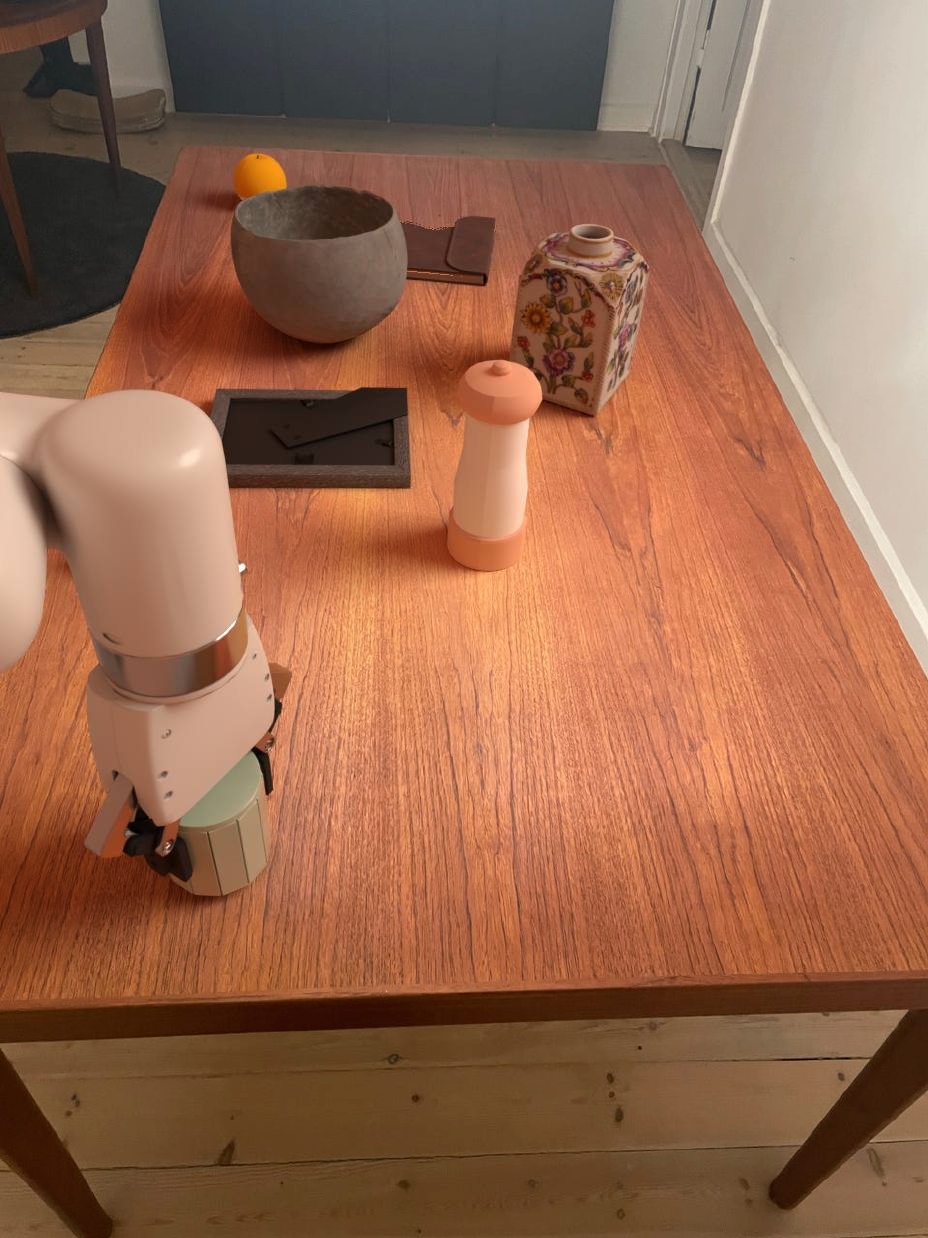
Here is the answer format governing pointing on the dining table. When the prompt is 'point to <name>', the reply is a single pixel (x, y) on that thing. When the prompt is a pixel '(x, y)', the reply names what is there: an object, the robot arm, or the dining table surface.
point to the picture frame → (314, 437)
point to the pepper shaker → (492, 465)
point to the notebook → (451, 251)
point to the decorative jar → (579, 315)
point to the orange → (258, 175)
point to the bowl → (319, 260)
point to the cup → (228, 832)
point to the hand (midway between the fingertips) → (213, 823)
